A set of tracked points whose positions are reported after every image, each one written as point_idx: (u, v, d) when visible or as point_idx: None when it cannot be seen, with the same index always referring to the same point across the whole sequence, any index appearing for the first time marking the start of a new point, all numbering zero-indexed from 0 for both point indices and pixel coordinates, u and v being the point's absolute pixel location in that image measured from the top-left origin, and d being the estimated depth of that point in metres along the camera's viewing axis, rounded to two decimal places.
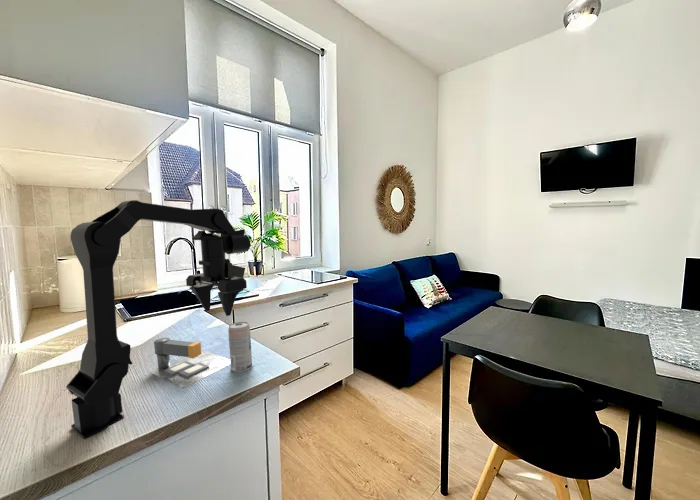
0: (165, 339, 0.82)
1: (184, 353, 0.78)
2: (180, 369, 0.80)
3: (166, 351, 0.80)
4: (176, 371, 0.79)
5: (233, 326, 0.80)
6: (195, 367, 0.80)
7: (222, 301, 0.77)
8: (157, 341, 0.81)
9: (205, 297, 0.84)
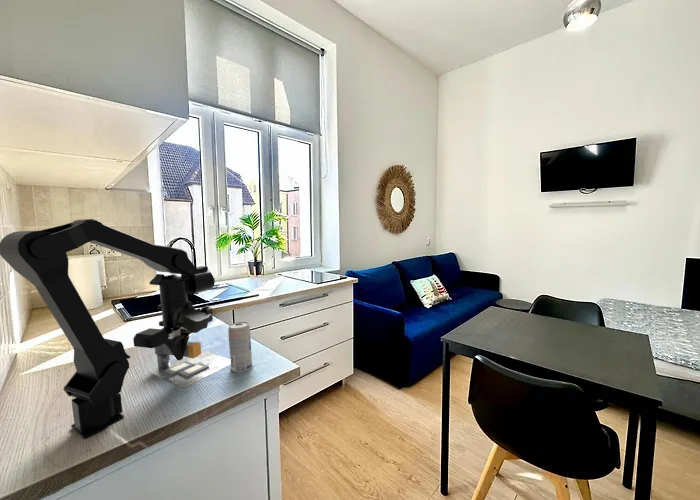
0: None
1: (184, 353, 0.78)
2: (180, 369, 0.80)
3: (166, 351, 0.80)
4: (176, 371, 0.79)
5: (233, 326, 0.80)
6: (195, 367, 0.80)
7: None
8: None
9: None
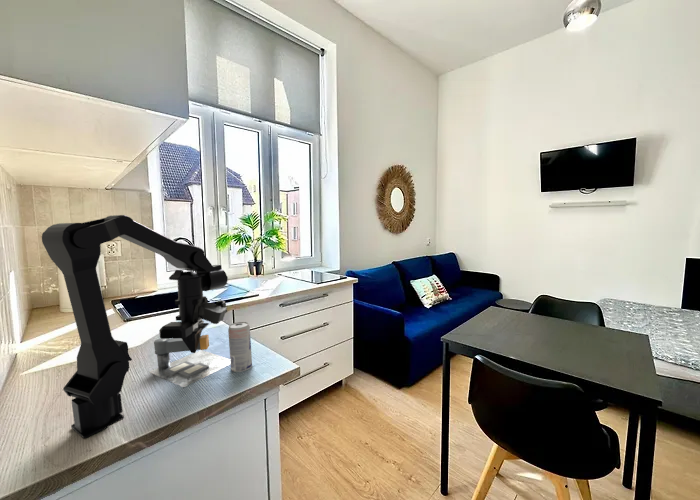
0: (164, 339, 0.82)
1: None
2: (180, 369, 0.80)
3: (171, 349, 0.81)
4: (176, 371, 0.79)
5: (233, 326, 0.80)
6: (195, 367, 0.80)
7: None
8: (158, 341, 0.81)
9: None
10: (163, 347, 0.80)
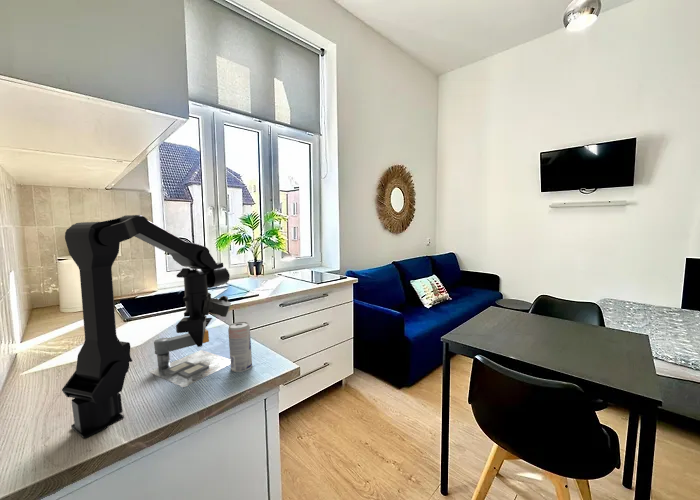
0: (163, 339, 0.82)
1: None
2: (180, 369, 0.80)
3: (174, 347, 0.82)
4: (176, 371, 0.79)
5: (233, 326, 0.80)
6: (195, 367, 0.80)
7: None
8: (160, 341, 0.81)
9: None
10: (167, 346, 0.81)
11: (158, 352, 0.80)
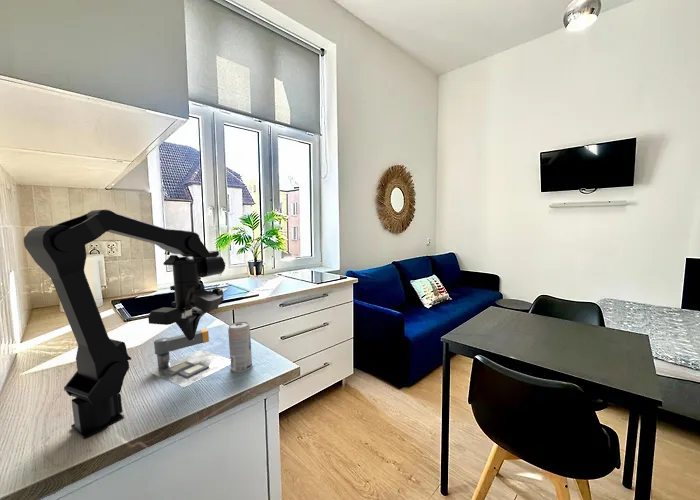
0: (163, 339, 0.82)
1: (197, 341, 0.86)
2: (180, 369, 0.80)
3: (174, 347, 0.83)
4: (176, 371, 0.79)
5: (233, 326, 0.80)
6: (195, 367, 0.80)
7: None
8: (160, 341, 0.81)
9: None
10: (167, 346, 0.81)
11: (158, 352, 0.80)
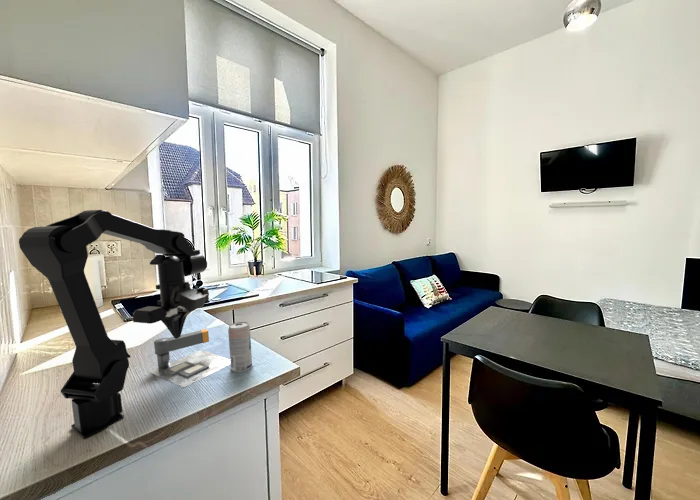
0: (163, 339, 0.82)
1: (197, 341, 0.86)
2: (180, 369, 0.80)
3: (174, 347, 0.83)
4: (176, 371, 0.79)
5: (233, 326, 0.80)
6: (195, 367, 0.80)
7: None
8: (160, 341, 0.81)
9: None
10: (167, 346, 0.81)
11: (158, 352, 0.80)
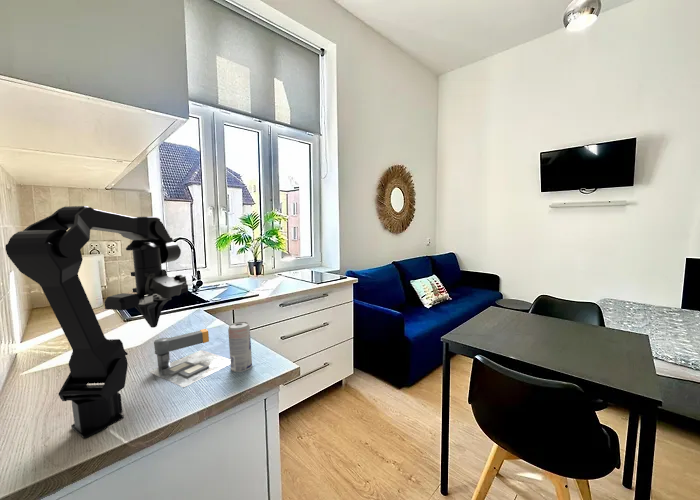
0: (163, 339, 0.82)
1: (197, 341, 0.86)
2: (180, 369, 0.80)
3: (174, 347, 0.83)
4: (176, 371, 0.79)
5: (233, 326, 0.80)
6: (195, 367, 0.80)
7: None
8: (160, 341, 0.81)
9: None
10: (167, 346, 0.81)
11: (158, 352, 0.80)
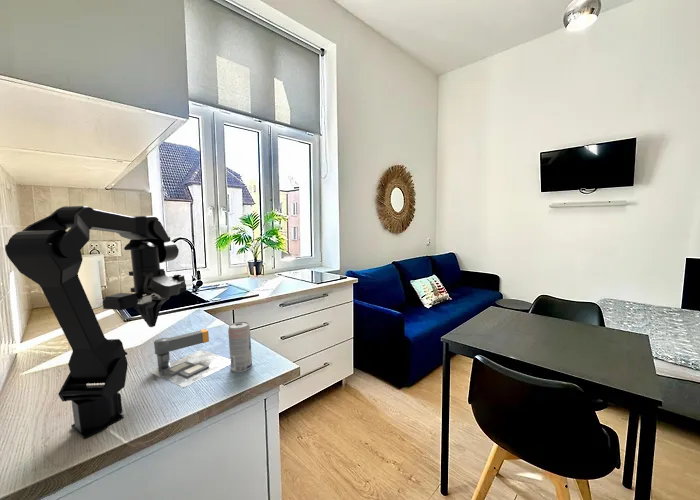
0: (163, 339, 0.82)
1: (197, 341, 0.86)
2: (180, 369, 0.80)
3: (174, 347, 0.83)
4: (176, 371, 0.79)
5: (233, 326, 0.80)
6: (195, 367, 0.80)
7: None
8: (160, 341, 0.81)
9: None
10: (167, 346, 0.81)
11: (158, 352, 0.80)
